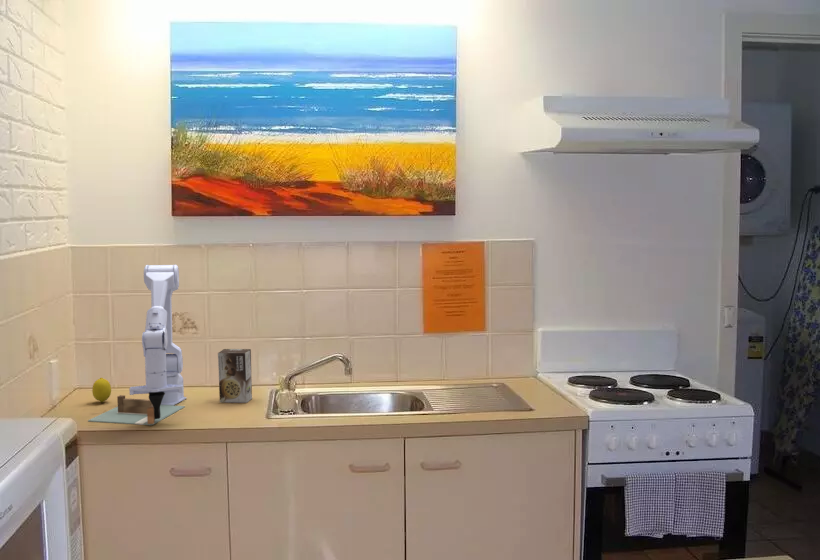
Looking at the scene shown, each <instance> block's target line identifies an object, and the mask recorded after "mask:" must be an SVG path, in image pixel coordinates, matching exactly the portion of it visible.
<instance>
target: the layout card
mask: <svg viewBox="0 0 820 560" xmlns="http://www.w3.org/2000/svg"><path fill="white" fill-rule="evenodd" d="M184 408H186V406H185V405H160V419H155V421H154V424H148V420H147V414H141V413H124V412H123V413H120V412H118V406H115V407H113V408H111V409H109V410H107V411H105V412H103V413H101V414H98V415H97V416H94V417H92V418H90V419H88V420H87V422H92V423H106V424H107V423H110V424H123V425H124V424H127V425H142V426H144V425H145V426H154V425H155V424H157V423H159V422H161V421H162V420H164V419H166V418H167V417H170V416H171V415H173V414H175V413H177V412H179V411H181V410H182V409H184Z"/></svg>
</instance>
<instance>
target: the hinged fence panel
mask: <svg viewBox="0 0 820 560" xmlns="http://www.w3.org/2000/svg"><path fill="white" fill-rule="evenodd" d="M147 420H148V424H153V425H155V424H154V421H155V409H154V407H153V405H151V407H148V408H147Z"/></svg>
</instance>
